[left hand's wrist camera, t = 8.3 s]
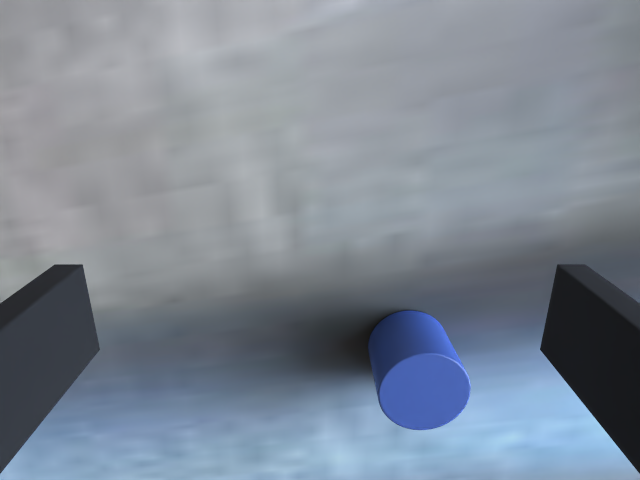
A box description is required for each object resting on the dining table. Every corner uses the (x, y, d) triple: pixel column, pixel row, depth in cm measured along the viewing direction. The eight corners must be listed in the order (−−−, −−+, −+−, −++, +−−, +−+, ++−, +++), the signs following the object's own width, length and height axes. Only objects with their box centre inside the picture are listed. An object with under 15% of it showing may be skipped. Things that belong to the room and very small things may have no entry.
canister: (376, 304, 25) (389, 347, 21) (455, 315, 25) (482, 360, 21) (361, 372, 26) (369, 424, 22) (435, 382, 27) (457, 435, 22)
